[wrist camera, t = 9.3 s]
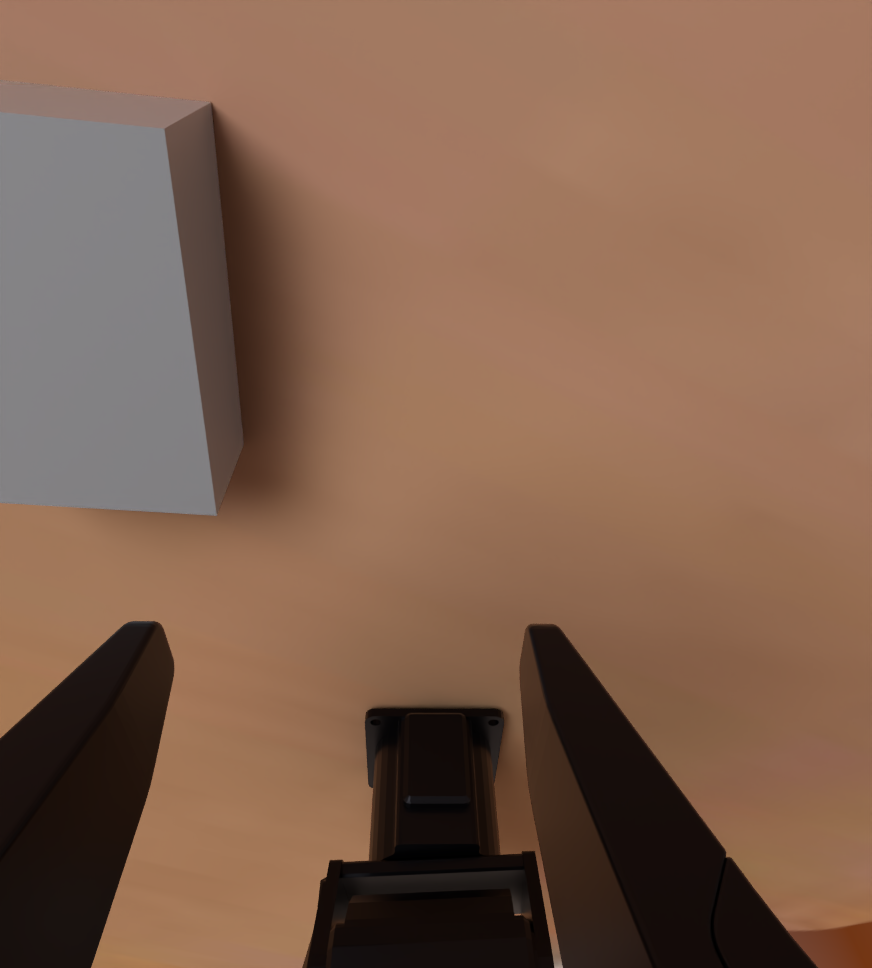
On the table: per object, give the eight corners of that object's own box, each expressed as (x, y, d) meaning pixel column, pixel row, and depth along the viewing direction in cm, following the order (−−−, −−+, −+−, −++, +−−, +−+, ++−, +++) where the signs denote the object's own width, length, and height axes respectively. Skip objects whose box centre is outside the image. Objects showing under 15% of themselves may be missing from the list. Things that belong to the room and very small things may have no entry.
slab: (245, 439, 22) (216, 515, 19) (29, 424, 22) (-38, 500, 19) (214, 100, 16) (164, 128, 13) (-86, 69, 16) (-214, 90, 13)
